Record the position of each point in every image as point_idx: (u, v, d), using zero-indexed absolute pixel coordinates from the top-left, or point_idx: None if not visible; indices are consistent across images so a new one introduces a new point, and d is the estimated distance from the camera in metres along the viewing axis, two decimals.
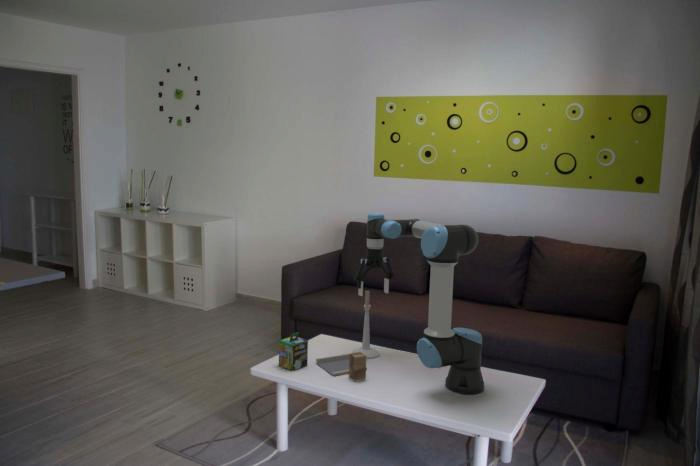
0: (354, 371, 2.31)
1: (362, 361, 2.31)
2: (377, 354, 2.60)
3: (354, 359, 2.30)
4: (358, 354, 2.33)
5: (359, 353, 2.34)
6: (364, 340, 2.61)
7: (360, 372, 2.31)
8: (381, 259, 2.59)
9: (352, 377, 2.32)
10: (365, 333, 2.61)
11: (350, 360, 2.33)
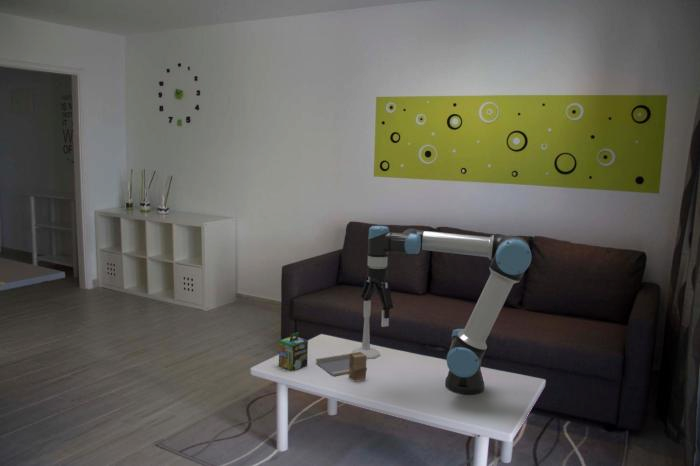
0: (354, 371, 2.31)
1: (362, 361, 2.31)
2: (377, 354, 2.60)
3: (354, 359, 2.30)
4: (358, 354, 2.33)
5: (359, 353, 2.34)
6: (364, 340, 2.61)
7: (360, 372, 2.31)
8: (378, 282, 2.15)
9: (352, 377, 2.32)
10: (365, 333, 2.61)
11: (350, 360, 2.33)
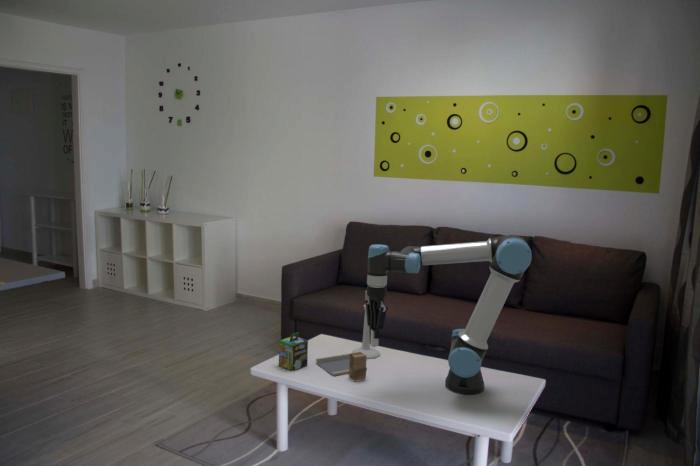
0: (354, 371, 2.31)
1: (362, 361, 2.31)
2: (377, 354, 2.60)
3: (354, 359, 2.30)
4: (358, 354, 2.33)
5: (359, 353, 2.34)
6: (364, 340, 2.61)
7: (360, 372, 2.31)
8: (378, 301, 2.15)
9: (352, 377, 2.32)
10: (365, 333, 2.61)
11: (350, 360, 2.33)
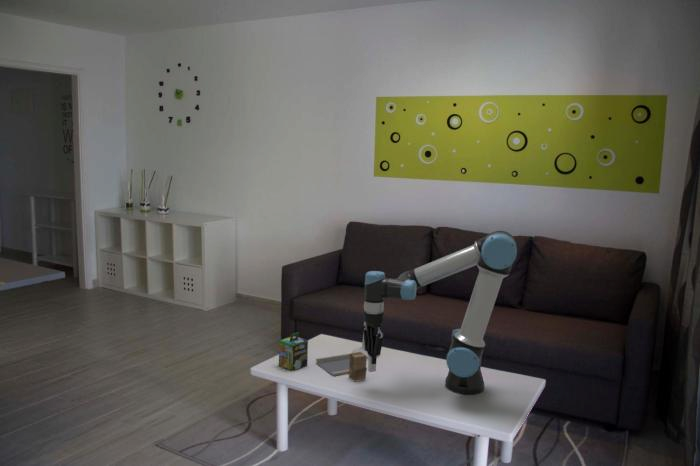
0: (354, 371, 2.31)
1: (362, 361, 2.31)
2: None
3: (354, 359, 2.30)
4: (358, 354, 2.33)
5: (359, 353, 2.34)
6: None
7: (360, 372, 2.31)
8: (375, 328, 2.18)
9: (352, 377, 2.32)
10: None
11: (350, 360, 2.33)
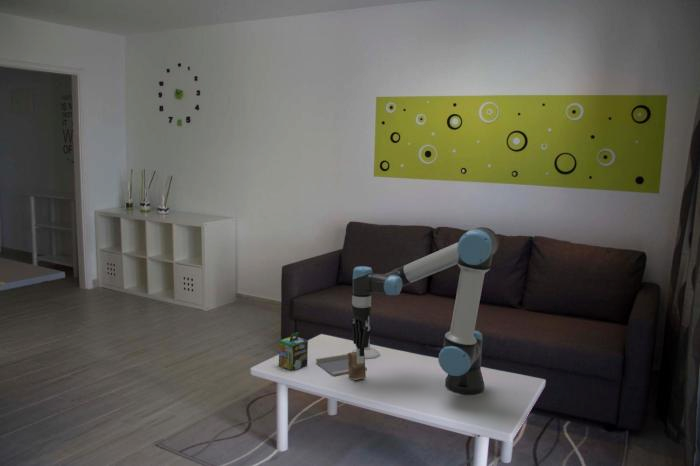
0: (353, 369, 2.31)
1: None
2: (377, 354, 2.60)
3: (352, 357, 2.31)
4: (356, 352, 2.34)
5: None
6: None
7: (359, 370, 2.32)
8: (362, 321, 2.26)
9: (352, 376, 2.32)
10: None
11: (348, 359, 2.34)
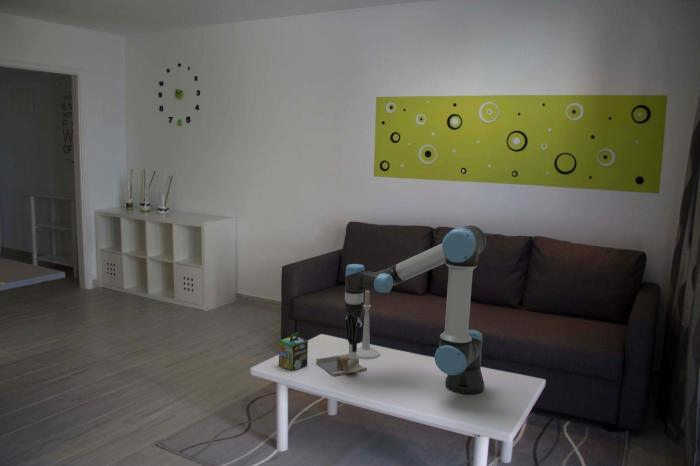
0: (343, 360, 2.38)
1: (346, 356, 2.43)
2: (377, 354, 2.60)
3: (338, 358, 2.42)
4: None
5: None
6: (364, 340, 2.61)
7: None
8: (355, 317, 2.31)
9: (347, 365, 2.36)
10: (365, 333, 2.61)
11: (340, 367, 2.41)
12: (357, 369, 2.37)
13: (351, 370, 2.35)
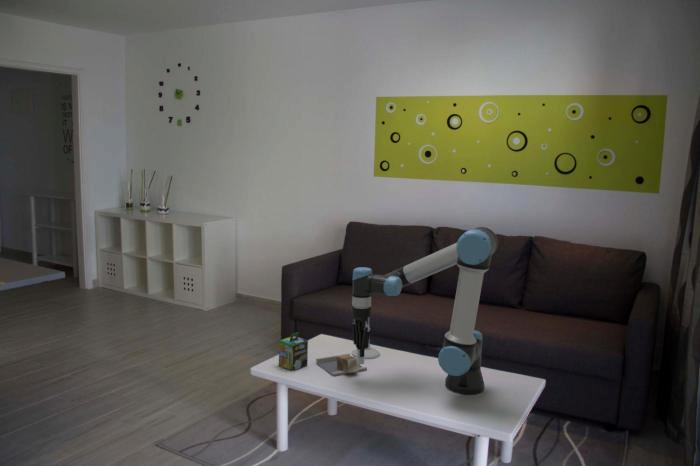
0: (343, 360, 2.38)
1: (346, 356, 2.43)
2: (377, 354, 2.60)
3: (338, 358, 2.43)
4: None
5: None
6: None
7: (349, 358, 2.39)
8: (362, 322, 2.26)
9: (347, 365, 2.36)
10: None
11: (340, 367, 2.41)
12: (357, 369, 2.37)
13: (351, 370, 2.35)
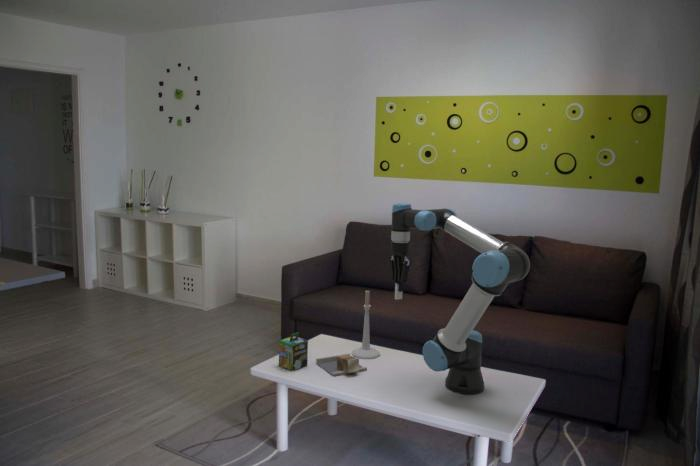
0: (343, 360, 2.38)
1: (346, 356, 2.43)
2: (377, 354, 2.60)
3: (338, 358, 2.43)
4: None
5: None
6: (364, 340, 2.61)
7: (349, 358, 2.39)
8: (402, 256, 2.28)
9: (347, 365, 2.36)
10: (365, 333, 2.61)
11: (340, 367, 2.41)
12: (357, 369, 2.37)
13: (351, 370, 2.35)
